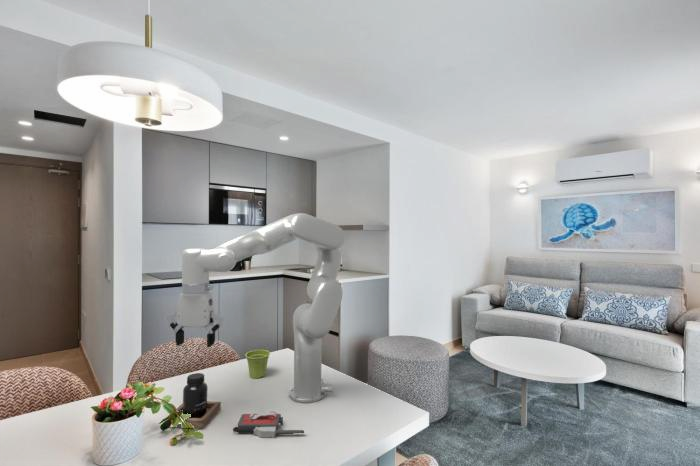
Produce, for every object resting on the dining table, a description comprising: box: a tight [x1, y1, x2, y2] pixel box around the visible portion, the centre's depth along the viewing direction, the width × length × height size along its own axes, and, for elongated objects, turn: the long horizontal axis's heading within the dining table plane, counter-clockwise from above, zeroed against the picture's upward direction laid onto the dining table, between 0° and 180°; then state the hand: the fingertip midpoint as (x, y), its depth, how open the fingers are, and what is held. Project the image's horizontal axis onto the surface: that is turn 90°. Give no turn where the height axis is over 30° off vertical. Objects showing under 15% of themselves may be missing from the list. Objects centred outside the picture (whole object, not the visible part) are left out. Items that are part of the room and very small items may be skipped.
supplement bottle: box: [182, 372, 208, 418], centre depth 107 cm, size 7×7×12 cm
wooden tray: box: [164, 400, 222, 431], centre depth 107 cm, size 11×11×2 cm
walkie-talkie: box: [232, 411, 305, 439], centre depth 102 cm, size 9×4×20 cm
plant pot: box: [244, 349, 271, 379], centre depth 139 cm, size 9×9×9 cm
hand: (195, 345), depth 107 cm, fingers open, 9 cm apart
